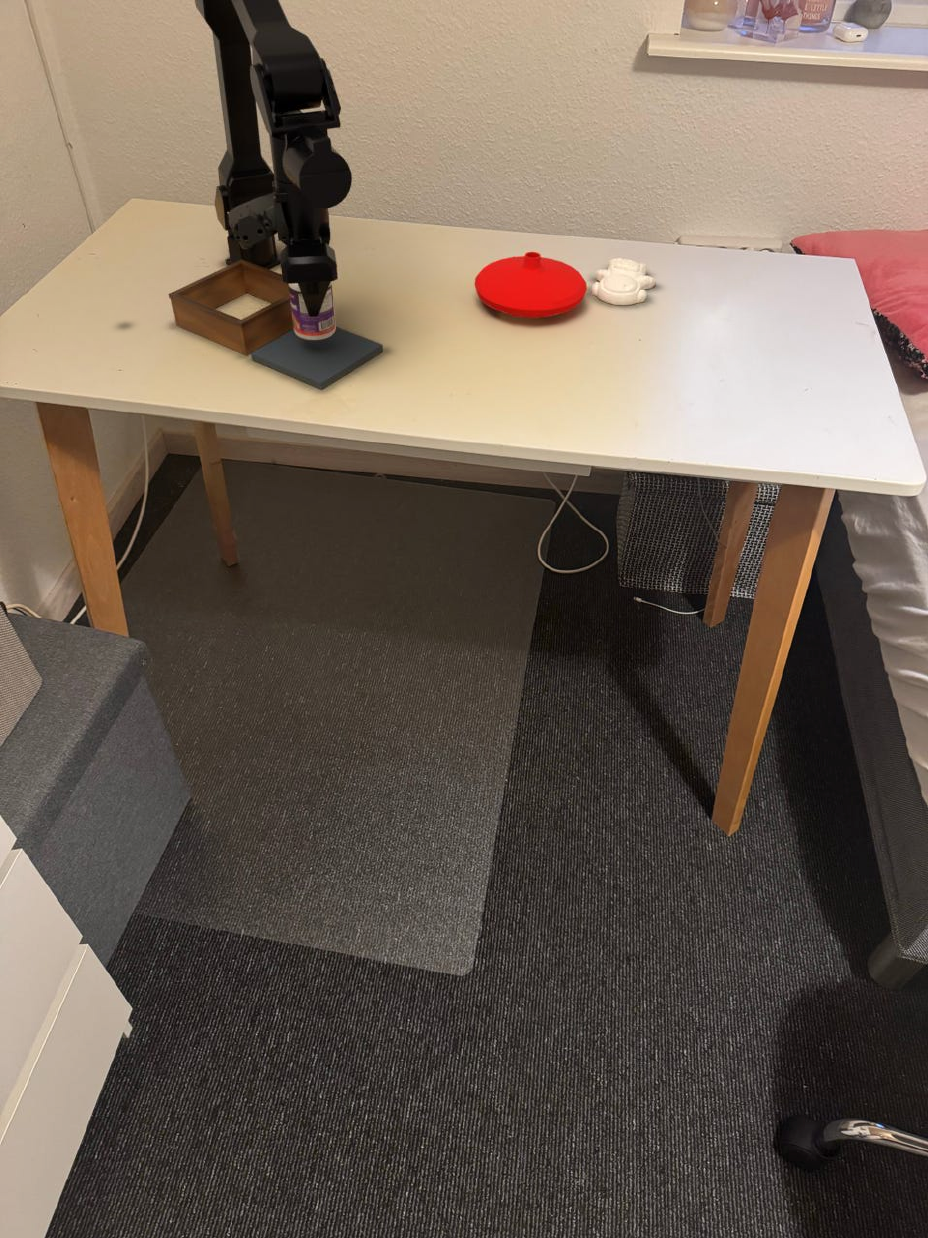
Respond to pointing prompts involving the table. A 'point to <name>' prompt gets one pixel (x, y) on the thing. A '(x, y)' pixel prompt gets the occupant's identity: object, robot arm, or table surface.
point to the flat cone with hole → (530, 286)
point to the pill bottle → (309, 325)
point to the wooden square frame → (225, 285)
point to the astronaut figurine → (622, 282)
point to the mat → (317, 356)
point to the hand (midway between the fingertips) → (312, 305)
